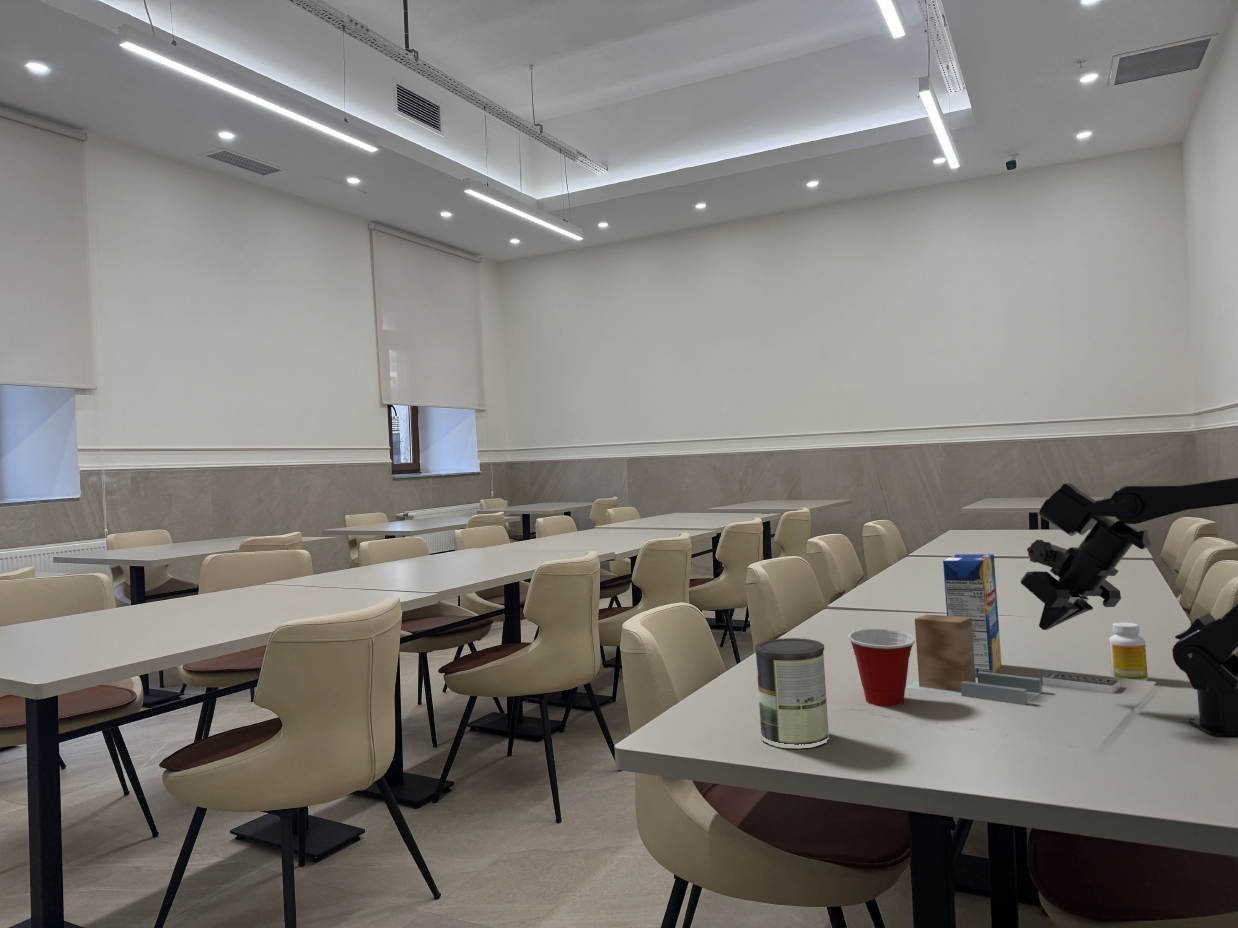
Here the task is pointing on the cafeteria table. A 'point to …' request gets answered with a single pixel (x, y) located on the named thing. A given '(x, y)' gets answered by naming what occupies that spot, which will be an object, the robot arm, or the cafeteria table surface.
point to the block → (944, 651)
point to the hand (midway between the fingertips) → (1042, 628)
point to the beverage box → (975, 604)
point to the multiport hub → (1081, 682)
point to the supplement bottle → (1128, 652)
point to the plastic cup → (882, 663)
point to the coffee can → (792, 690)
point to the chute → (995, 688)
